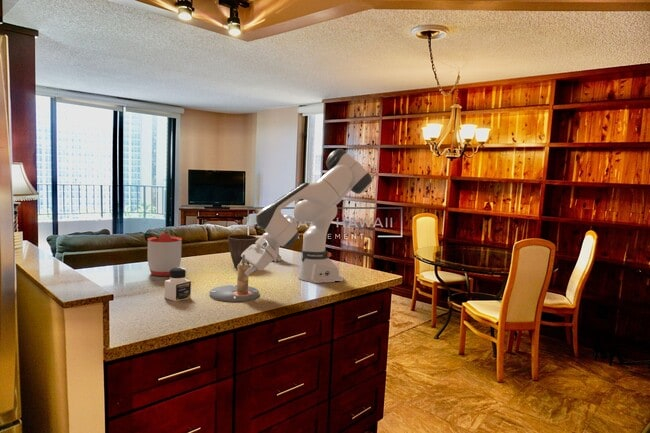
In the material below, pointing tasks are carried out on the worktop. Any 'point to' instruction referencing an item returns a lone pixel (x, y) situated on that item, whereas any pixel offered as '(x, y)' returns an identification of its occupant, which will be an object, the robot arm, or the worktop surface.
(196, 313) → the worktop surface
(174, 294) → the medicine bottle
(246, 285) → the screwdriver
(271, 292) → the worktop surface
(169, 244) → the citrus juicer
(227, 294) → the dial plate
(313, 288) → the worktop surface
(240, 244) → the plant pot
